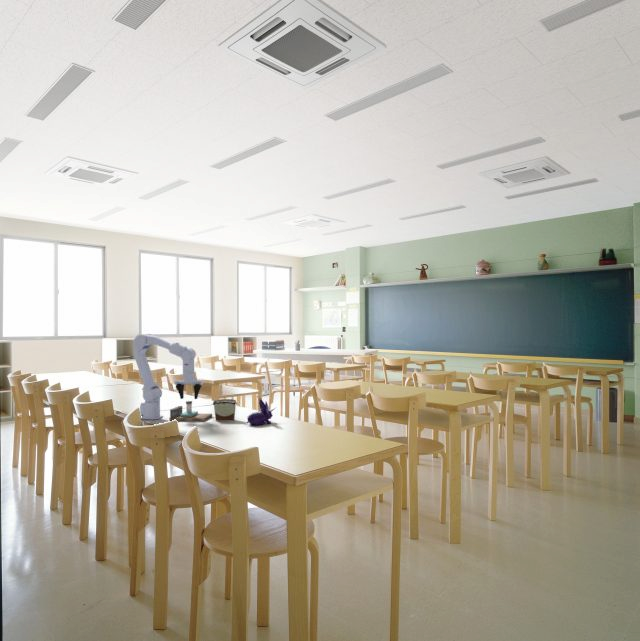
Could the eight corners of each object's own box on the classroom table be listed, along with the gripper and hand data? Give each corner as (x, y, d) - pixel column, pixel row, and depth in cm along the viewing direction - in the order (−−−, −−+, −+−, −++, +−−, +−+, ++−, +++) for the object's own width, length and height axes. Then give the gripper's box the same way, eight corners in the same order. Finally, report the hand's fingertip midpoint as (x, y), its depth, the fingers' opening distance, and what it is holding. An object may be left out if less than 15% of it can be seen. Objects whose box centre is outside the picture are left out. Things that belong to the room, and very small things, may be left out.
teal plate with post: (180, 416, 247) (180, 402, 247) (186, 413, 255) (186, 400, 255) (191, 416, 246) (191, 402, 246) (197, 413, 254) (197, 400, 254)
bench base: (169, 421, 245) (169, 409, 245) (179, 416, 257) (179, 405, 257) (203, 421, 243) (203, 410, 243) (212, 416, 255) (212, 406, 255)
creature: (282, 422, 238) (281, 397, 238) (249, 428, 227) (248, 401, 227) (272, 419, 245) (272, 395, 245) (240, 425, 234) (239, 399, 234)
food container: (240, 418, 250) (239, 398, 250) (236, 420, 244) (236, 400, 243) (216, 418, 251) (216, 398, 251) (212, 420, 245) (212, 400, 245)
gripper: (205, 371, 253) (205, 397, 253) (178, 371, 255) (179, 397, 255) (199, 373, 246) (200, 399, 246) (172, 372, 248) (173, 399, 248)
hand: (189, 398), depth 250 cm, fingers open, 7 cm apart
